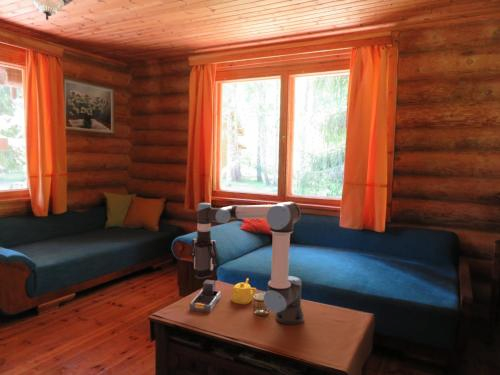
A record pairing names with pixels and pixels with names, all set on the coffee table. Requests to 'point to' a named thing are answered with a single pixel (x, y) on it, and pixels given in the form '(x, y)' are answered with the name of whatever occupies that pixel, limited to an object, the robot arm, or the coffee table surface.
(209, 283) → the rack
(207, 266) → the electronic device
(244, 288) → the teapot
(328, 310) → the coffee table surface
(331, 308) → the coffee table surface
